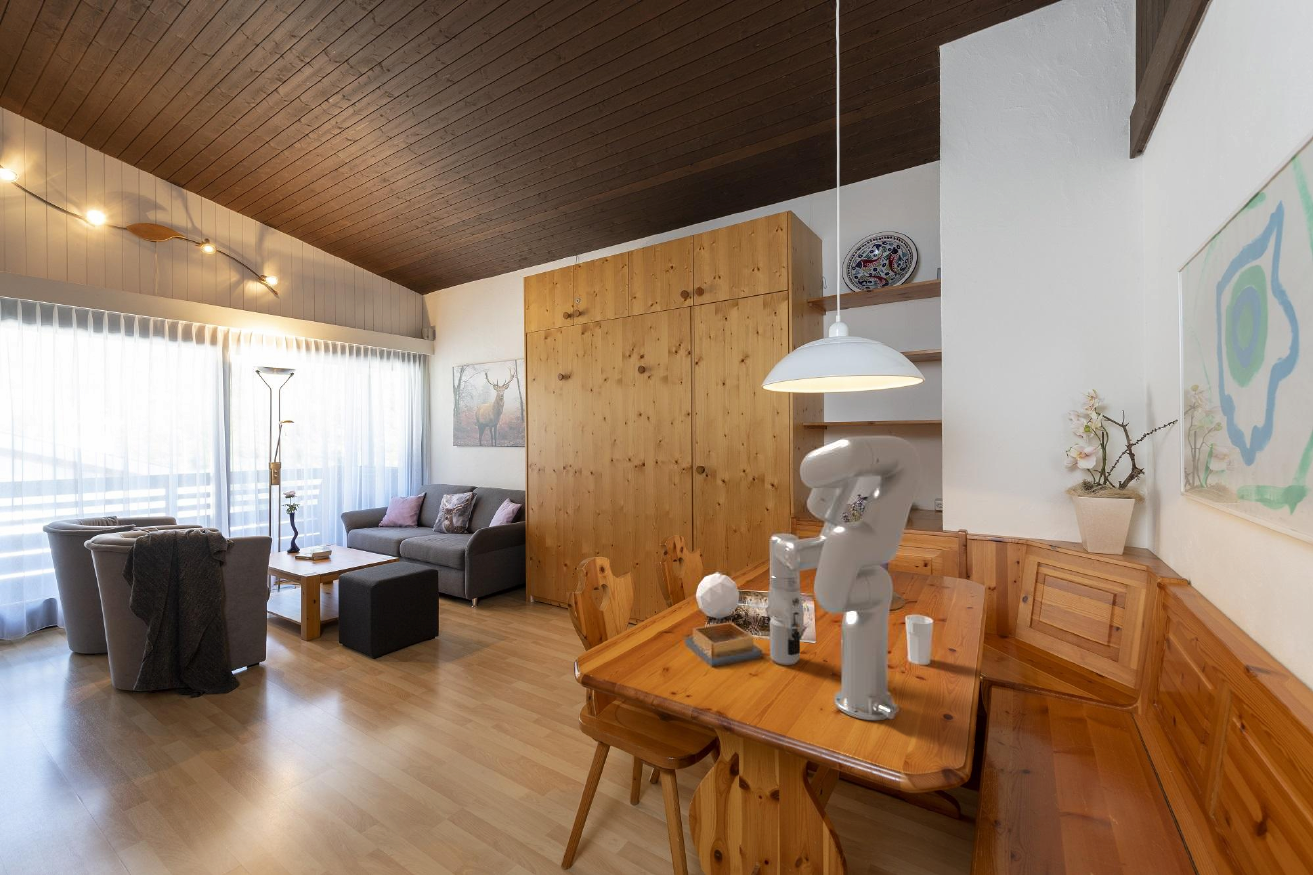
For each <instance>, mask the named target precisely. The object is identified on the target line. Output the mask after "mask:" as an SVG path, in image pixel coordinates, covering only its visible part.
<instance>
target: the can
mask: <svg viewBox="0 0 1313 875" xmlns="http://www.w3.org/2000/svg"><path fill="white" fill-rule="evenodd" d="M793 626H796V625H795V623H794V624H792V625H791V627H793ZM792 632H793V634H794V633H795V632H796V629H792ZM788 639H790V637H789V634H788V629H786V628H785V626H784V624H783V623H782V620H781V619H778V618H776V617H774V615H773V618H772V619H771V620H770V627H769V657H770V659H771V660H773V662H774V663H776V664H779V665H782V666H791V665H795V664H796V663H797V662H798V661H799V660H800V653H799V654H795V655H789V654H788Z"/></svg>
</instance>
